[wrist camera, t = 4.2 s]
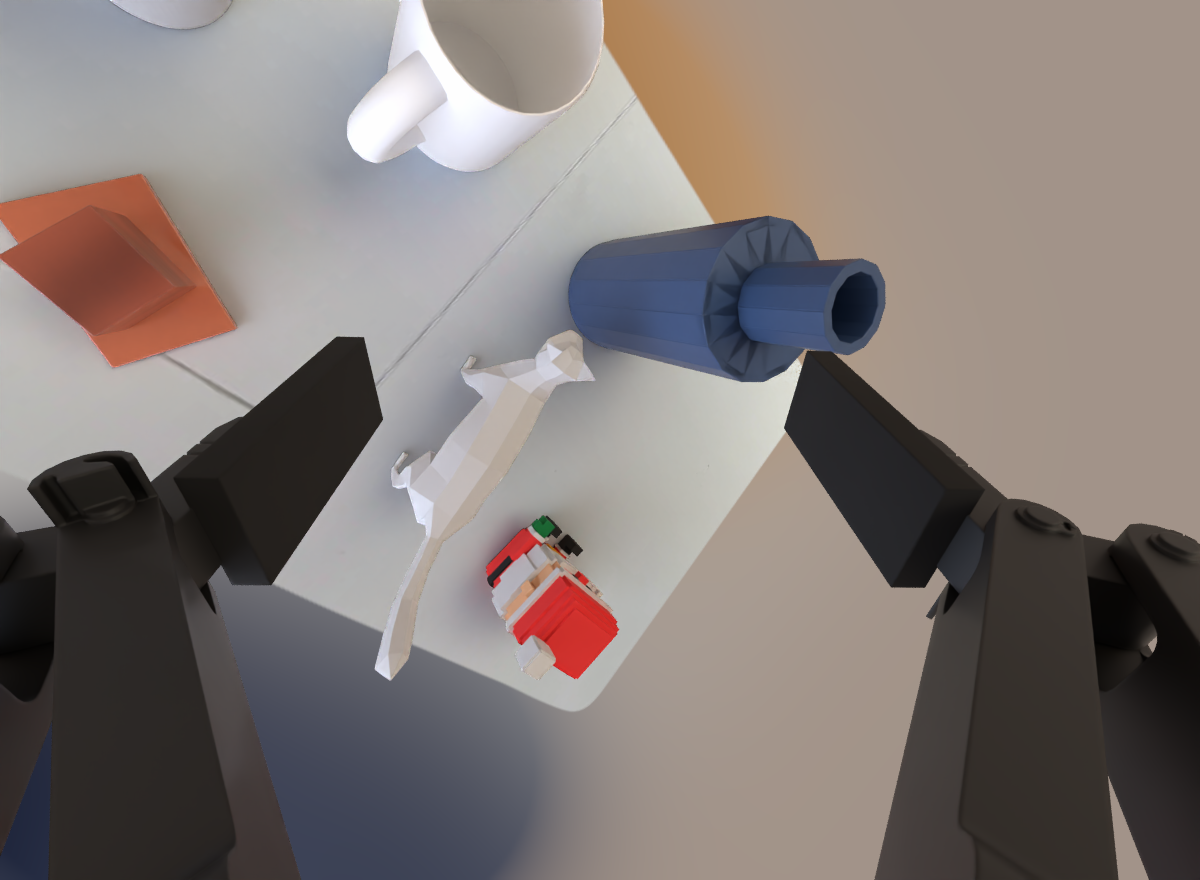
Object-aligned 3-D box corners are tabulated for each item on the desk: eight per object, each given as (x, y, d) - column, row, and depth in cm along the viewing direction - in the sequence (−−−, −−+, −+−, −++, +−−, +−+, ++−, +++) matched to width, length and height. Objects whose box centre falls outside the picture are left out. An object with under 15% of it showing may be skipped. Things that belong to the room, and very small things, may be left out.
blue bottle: (554, 259, 35) (775, 235, 17) (645, 228, 37) (918, 179, 20) (585, 362, 38) (795, 431, 21) (666, 327, 41) (915, 362, 23)
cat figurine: (547, 340, 36) (647, 368, 24) (397, 561, 36) (425, 700, 24) (499, 302, 34) (584, 313, 22) (338, 539, 33) (336, 681, 22)
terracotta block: (46, 259, 23) (-5, 256, 20) (125, 215, 24) (89, 204, 21) (126, 329, 25) (93, 337, 22) (197, 286, 26) (175, 287, 22)
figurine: (588, 552, 44) (662, 634, 34) (533, 611, 43) (592, 714, 33) (527, 498, 39) (592, 573, 29) (465, 563, 38) (509, 664, 28)
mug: (290, 95, 26) (256, -26, 16) (463, -15, 28) (531, -184, 18) (400, 234, 30) (429, 210, 20) (543, 130, 32) (636, 59, 22)
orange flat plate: (-4, 207, 22) (-11, 205, 22) (145, 175, 24) (140, 173, 24) (116, 366, 26) (112, 368, 25) (238, 328, 28) (236, 328, 27)
